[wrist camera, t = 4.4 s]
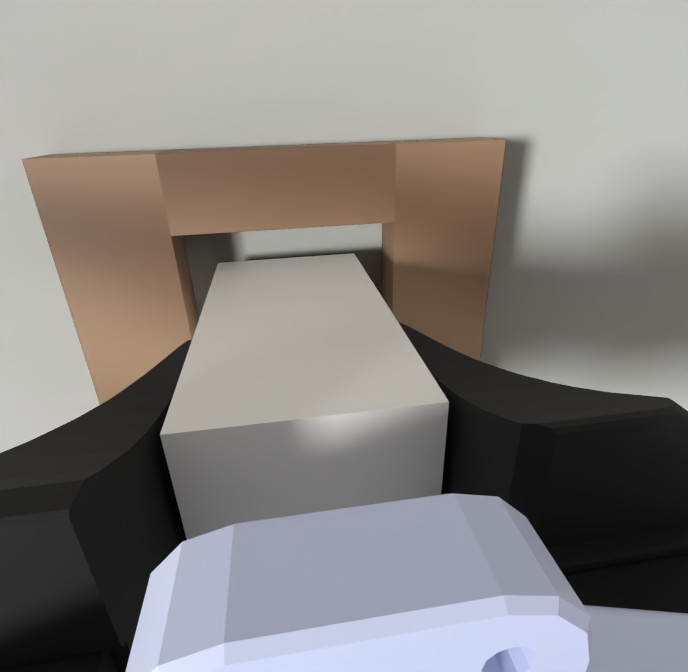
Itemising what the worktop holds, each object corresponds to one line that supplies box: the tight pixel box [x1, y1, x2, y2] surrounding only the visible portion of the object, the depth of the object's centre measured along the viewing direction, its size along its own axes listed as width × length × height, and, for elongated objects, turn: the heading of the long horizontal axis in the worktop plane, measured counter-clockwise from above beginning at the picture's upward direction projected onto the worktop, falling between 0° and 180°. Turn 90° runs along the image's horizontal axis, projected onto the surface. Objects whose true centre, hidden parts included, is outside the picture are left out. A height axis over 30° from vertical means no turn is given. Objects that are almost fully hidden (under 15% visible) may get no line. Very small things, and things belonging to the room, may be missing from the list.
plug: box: [160, 253, 449, 540], centre depth 11 cm, size 4×4×8 cm
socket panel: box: [22, 137, 506, 405], centre depth 16 cm, size 20×12×2 cm, turn 1°
